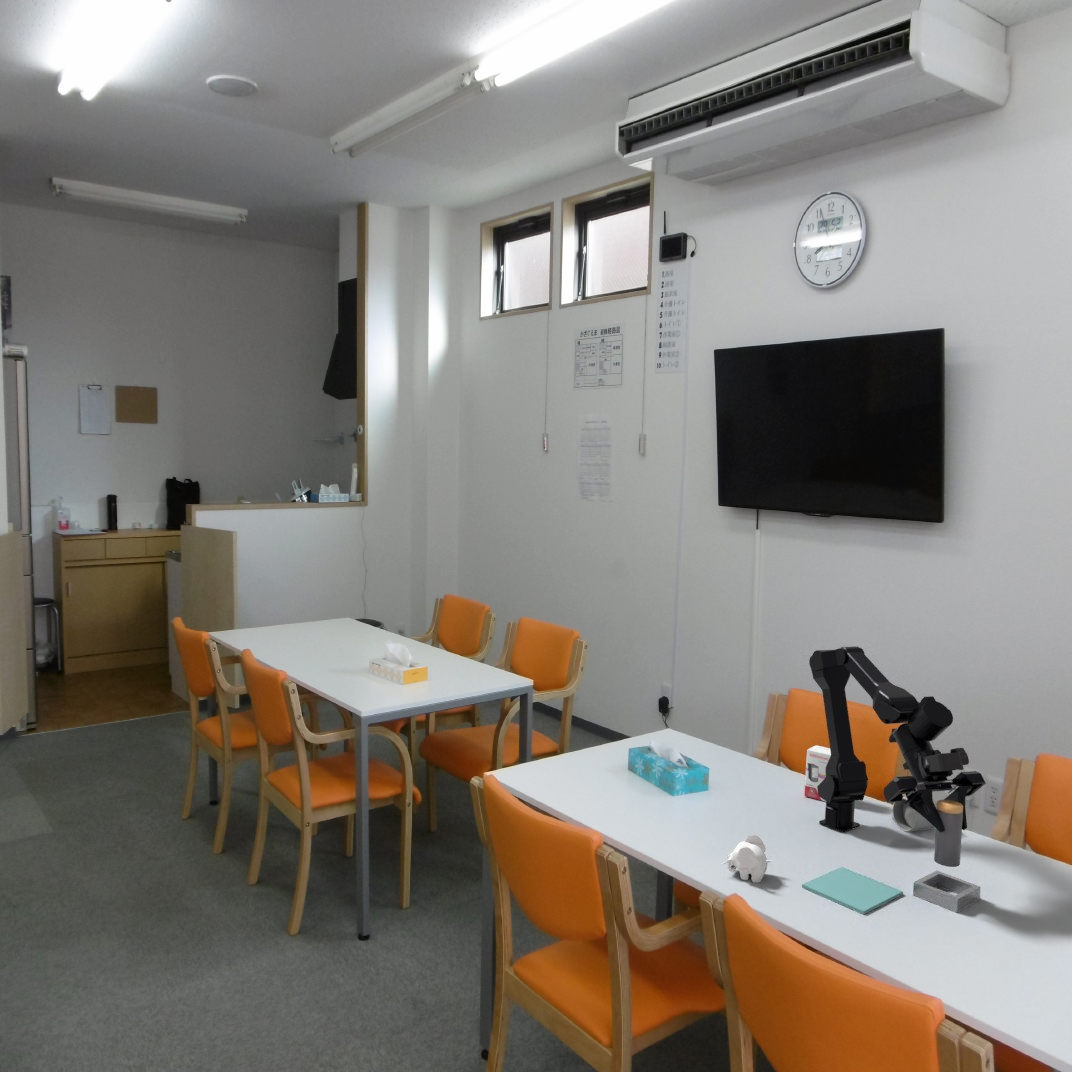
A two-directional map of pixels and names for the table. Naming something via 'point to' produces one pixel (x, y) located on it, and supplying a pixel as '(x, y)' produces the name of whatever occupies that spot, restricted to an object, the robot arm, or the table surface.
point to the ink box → (815, 769)
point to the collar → (928, 892)
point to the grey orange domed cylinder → (949, 833)
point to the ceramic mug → (909, 817)
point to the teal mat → (852, 890)
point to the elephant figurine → (749, 859)
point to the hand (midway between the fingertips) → (953, 830)
